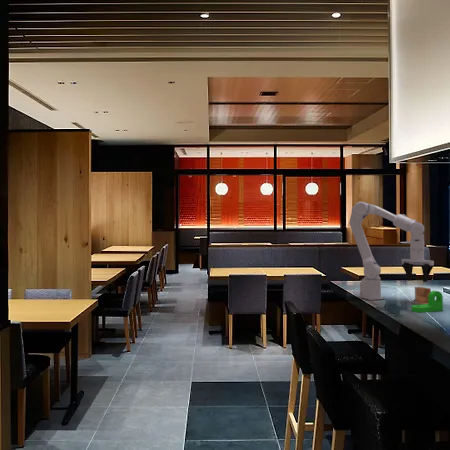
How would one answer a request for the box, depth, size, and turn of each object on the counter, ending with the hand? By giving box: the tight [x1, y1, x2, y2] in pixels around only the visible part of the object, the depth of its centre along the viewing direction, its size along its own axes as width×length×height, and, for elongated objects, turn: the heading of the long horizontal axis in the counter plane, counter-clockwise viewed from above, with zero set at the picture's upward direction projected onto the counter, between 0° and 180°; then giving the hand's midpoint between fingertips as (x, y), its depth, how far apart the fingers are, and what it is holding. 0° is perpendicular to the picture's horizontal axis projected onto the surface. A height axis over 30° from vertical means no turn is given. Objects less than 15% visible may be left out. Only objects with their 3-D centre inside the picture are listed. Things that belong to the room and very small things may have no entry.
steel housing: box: [413, 286, 431, 302], centre depth 223 cm, size 7×4×6 cm, turn 19°
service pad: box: [411, 301, 428, 305], centre depth 215 cm, size 8×6×1 cm
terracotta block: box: [415, 287, 431, 304], centre depth 215 cm, size 4×4×6 cm
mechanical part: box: [411, 290, 444, 314], centre depth 202 cm, size 12×6×8 cm, turn 113°
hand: (417, 281), depth 222 cm, fingers open, 7 cm apart
